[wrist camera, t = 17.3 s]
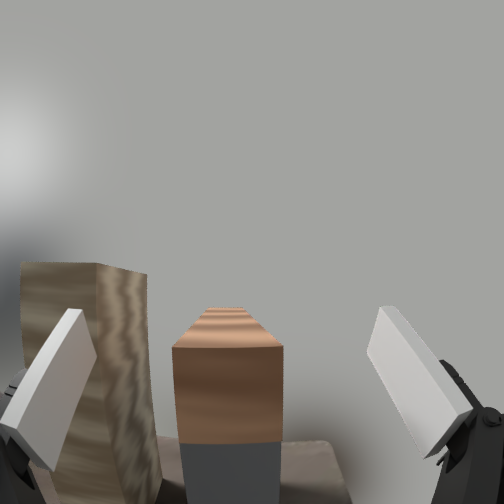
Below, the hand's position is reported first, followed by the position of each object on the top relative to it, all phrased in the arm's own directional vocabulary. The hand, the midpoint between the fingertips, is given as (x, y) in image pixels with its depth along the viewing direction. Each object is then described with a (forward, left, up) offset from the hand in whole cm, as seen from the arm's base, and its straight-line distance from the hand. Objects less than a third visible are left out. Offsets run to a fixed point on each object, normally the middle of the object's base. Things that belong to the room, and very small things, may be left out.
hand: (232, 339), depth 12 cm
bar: (-7, +9, -4) cm, 12 cm away
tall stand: (-21, +6, -26) cm, 34 cm away
